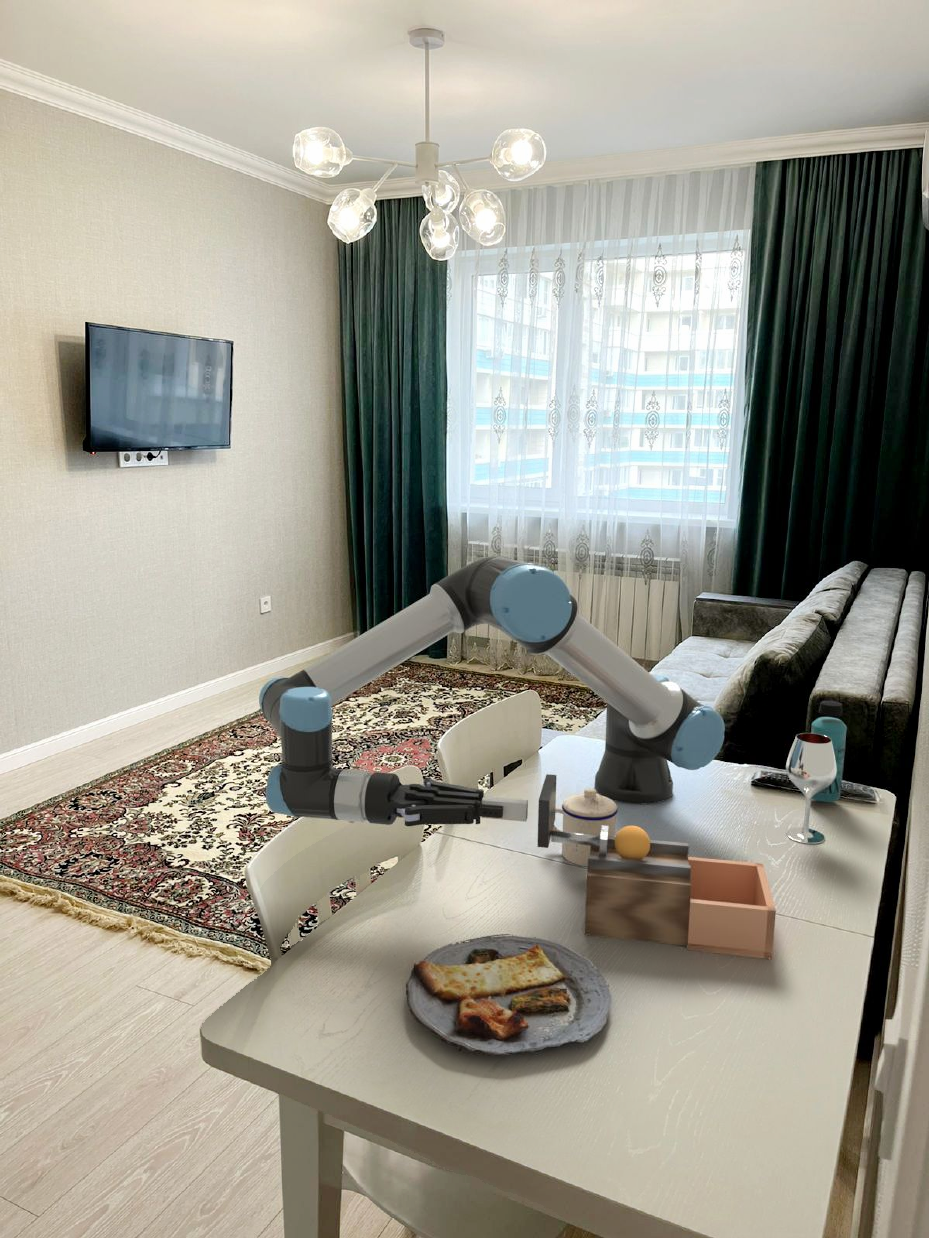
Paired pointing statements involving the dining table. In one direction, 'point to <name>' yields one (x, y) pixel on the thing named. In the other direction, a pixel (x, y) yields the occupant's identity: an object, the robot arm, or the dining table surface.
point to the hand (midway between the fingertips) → (526, 810)
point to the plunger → (546, 826)
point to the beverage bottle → (838, 735)
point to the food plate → (507, 994)
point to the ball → (632, 843)
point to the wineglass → (810, 776)
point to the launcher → (639, 894)
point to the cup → (730, 908)
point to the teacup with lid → (585, 821)
